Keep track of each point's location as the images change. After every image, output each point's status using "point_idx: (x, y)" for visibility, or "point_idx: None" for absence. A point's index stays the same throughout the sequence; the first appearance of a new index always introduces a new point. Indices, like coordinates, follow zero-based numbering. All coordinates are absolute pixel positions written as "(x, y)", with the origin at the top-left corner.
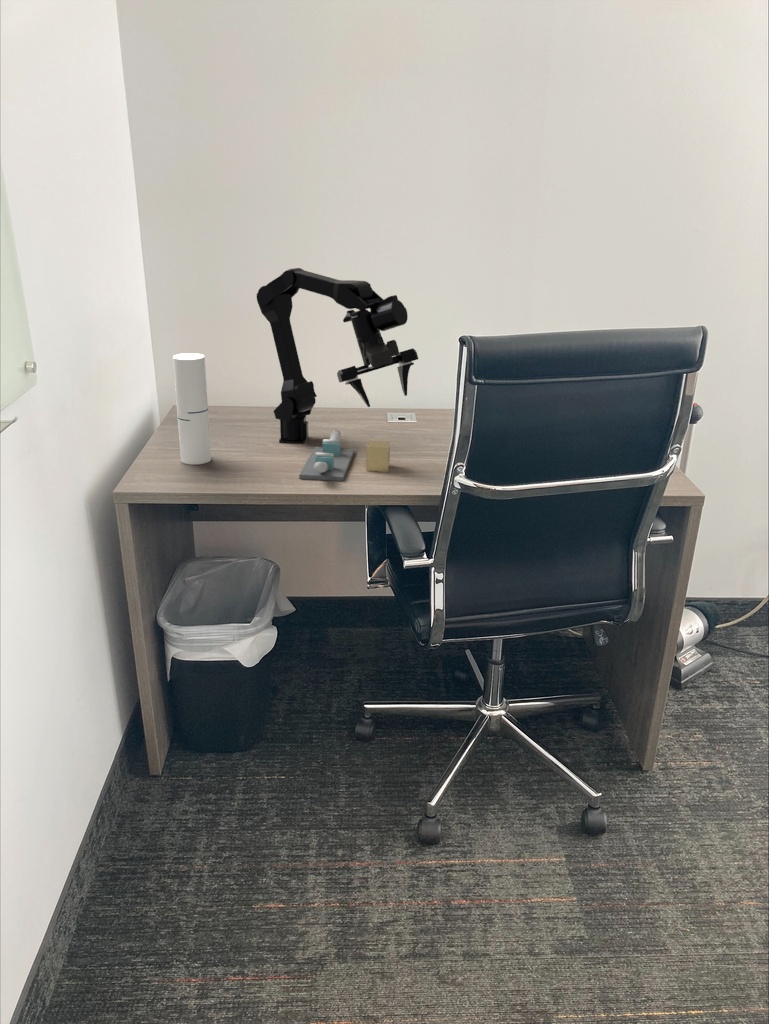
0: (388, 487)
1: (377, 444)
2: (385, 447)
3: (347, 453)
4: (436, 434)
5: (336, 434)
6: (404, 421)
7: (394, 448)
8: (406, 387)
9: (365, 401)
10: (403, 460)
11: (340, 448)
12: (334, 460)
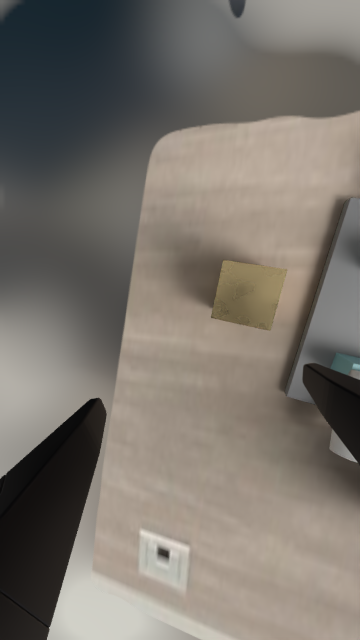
0: (235, 169)
1: (249, 293)
2: (229, 266)
3: None
4: (114, 460)
5: None
6: (160, 539)
7: (194, 404)
8: (59, 430)
9: (353, 377)
10: (185, 335)
11: None
12: (354, 322)
